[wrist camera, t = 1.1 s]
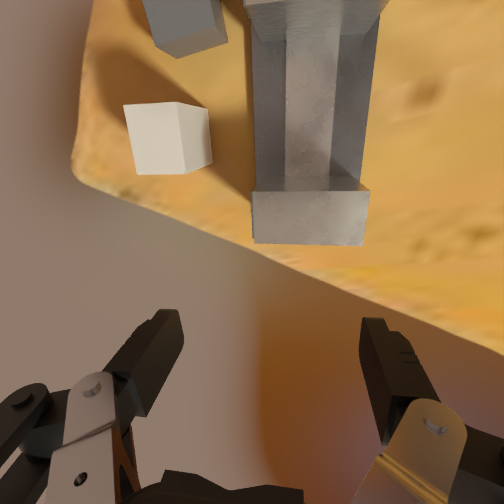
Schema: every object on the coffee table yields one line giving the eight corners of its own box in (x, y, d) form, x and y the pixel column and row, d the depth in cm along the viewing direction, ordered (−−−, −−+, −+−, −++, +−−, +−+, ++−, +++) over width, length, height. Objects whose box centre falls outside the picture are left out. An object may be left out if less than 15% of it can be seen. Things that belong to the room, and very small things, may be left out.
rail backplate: (250, -24, 26) (225, -107, 17) (384, -42, 24) (436, -146, 15) (258, 217, 36) (244, 247, 27) (353, 218, 34) (373, 251, 25)
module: (165, 111, 32) (120, 105, 24) (207, 109, 31) (176, 101, 23) (173, 164, 34) (134, 174, 26) (212, 163, 34) (185, 173, 25)
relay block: (159, 3, 28) (133, -22, 23) (216, -19, 26) (199, -49, 22) (175, 59, 30) (153, 47, 25) (228, 42, 28) (215, 26, 24)
